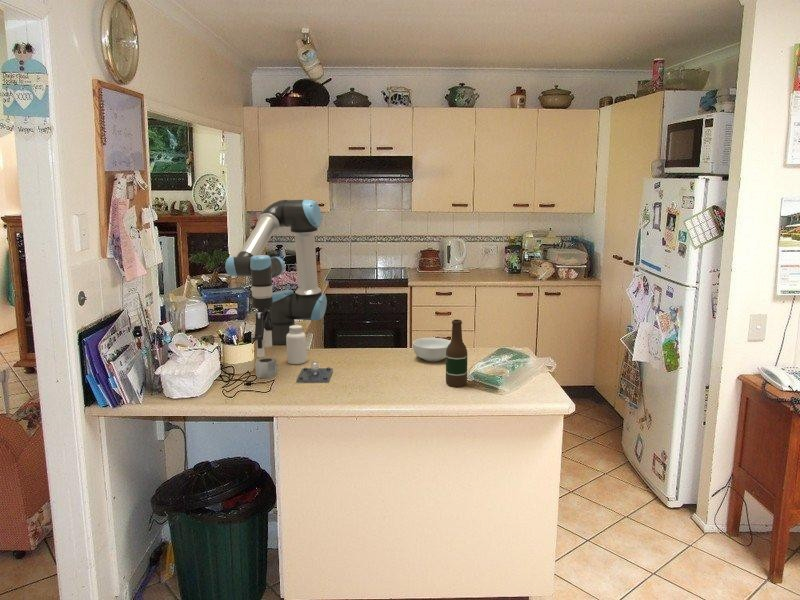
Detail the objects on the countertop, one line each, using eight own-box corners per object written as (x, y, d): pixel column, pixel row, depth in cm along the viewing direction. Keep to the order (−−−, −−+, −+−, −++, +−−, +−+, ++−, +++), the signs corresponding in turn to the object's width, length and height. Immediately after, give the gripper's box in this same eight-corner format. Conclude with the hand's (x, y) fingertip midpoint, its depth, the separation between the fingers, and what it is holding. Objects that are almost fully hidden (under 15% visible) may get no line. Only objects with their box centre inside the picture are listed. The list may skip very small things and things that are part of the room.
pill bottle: (308, 359, 264) (307, 324, 261) (304, 365, 256) (302, 329, 253) (290, 358, 265) (288, 324, 262) (284, 364, 257) (283, 328, 254)
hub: (258, 372, 248) (258, 357, 246) (278, 372, 247) (277, 357, 246) (254, 378, 240) (253, 363, 239) (274, 378, 240) (273, 363, 239)
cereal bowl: (441, 367, 252) (442, 350, 250) (405, 361, 260) (405, 344, 259) (459, 356, 266) (460, 340, 265) (424, 351, 274) (424, 335, 273)
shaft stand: (302, 370, 249) (301, 357, 248) (332, 370, 249) (332, 357, 247) (296, 382, 235) (295, 368, 234) (328, 382, 235) (328, 368, 234)
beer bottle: (441, 383, 232) (441, 320, 227) (456, 379, 237) (456, 316, 232) (456, 389, 226) (456, 323, 222) (471, 384, 231) (472, 320, 226)
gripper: (259, 291, 250) (262, 343, 254) (244, 303, 225) (247, 360, 229) (278, 290, 250) (280, 343, 254) (265, 303, 225) (267, 360, 229)
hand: (264, 351), depth 242 cm, fingers open, 13 cm apart
